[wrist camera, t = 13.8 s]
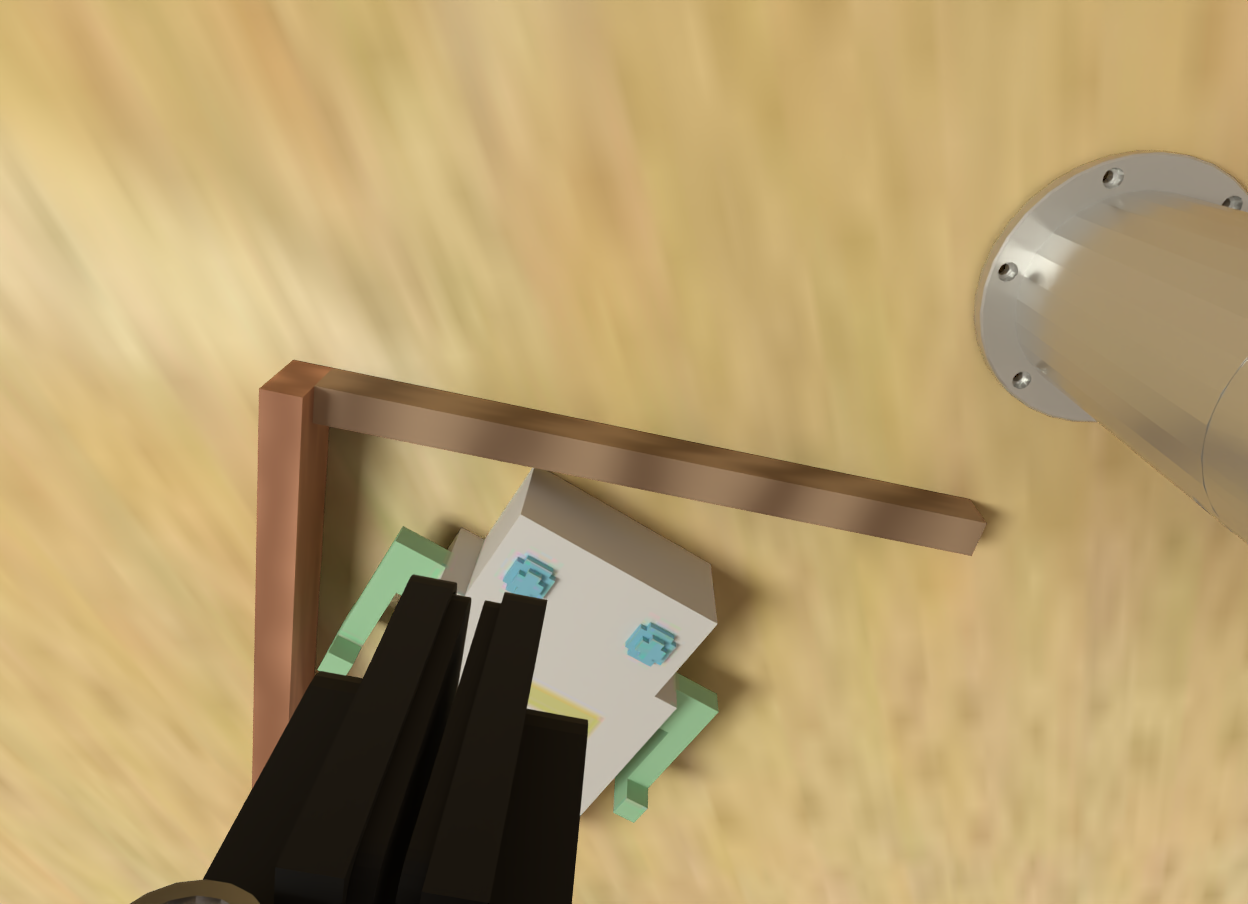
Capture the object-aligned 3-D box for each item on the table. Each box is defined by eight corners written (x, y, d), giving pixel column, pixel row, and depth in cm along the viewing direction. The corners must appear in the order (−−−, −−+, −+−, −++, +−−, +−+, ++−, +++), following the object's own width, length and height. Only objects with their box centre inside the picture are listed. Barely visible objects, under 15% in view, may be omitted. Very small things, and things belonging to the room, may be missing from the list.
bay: (969, 499, 44) (1032, 586, 37) (741, 1002, 64) (752, 1124, 56) (263, 353, 42) (181, 416, 34) (252, 923, 61) (198, 1038, 54)
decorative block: (436, 476, 37) (787, 671, 42) (465, 420, 43) (771, 596, 47) (233, 807, 47) (534, 938, 51) (279, 725, 53) (546, 848, 57)
